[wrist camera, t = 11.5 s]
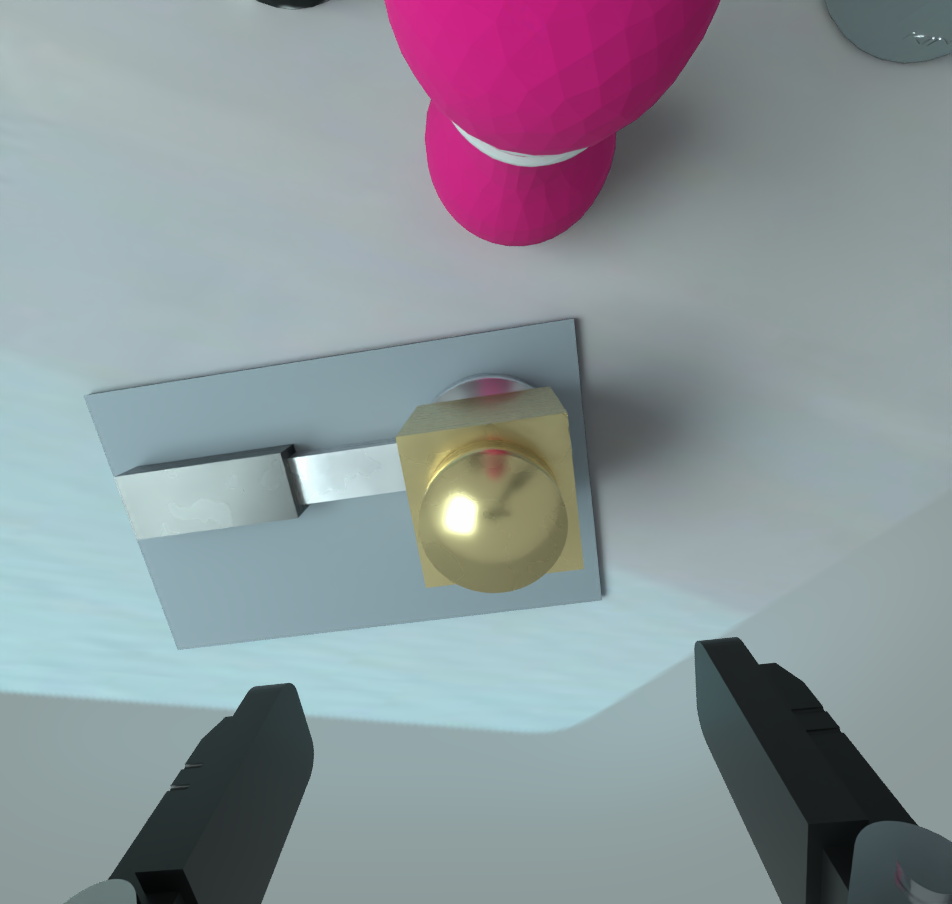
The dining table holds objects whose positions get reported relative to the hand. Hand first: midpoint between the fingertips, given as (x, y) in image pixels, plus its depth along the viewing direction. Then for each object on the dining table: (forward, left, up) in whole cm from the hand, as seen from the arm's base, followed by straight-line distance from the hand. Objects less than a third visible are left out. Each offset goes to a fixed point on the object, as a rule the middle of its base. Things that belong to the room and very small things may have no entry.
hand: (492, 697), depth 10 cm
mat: (+2, -8, -18) cm, 20 cm away
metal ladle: (0, -8, -18) cm, 20 cm away
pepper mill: (-13, +3, -19) cm, 23 cm away
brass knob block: (0, 0, -16) cm, 16 cm away
